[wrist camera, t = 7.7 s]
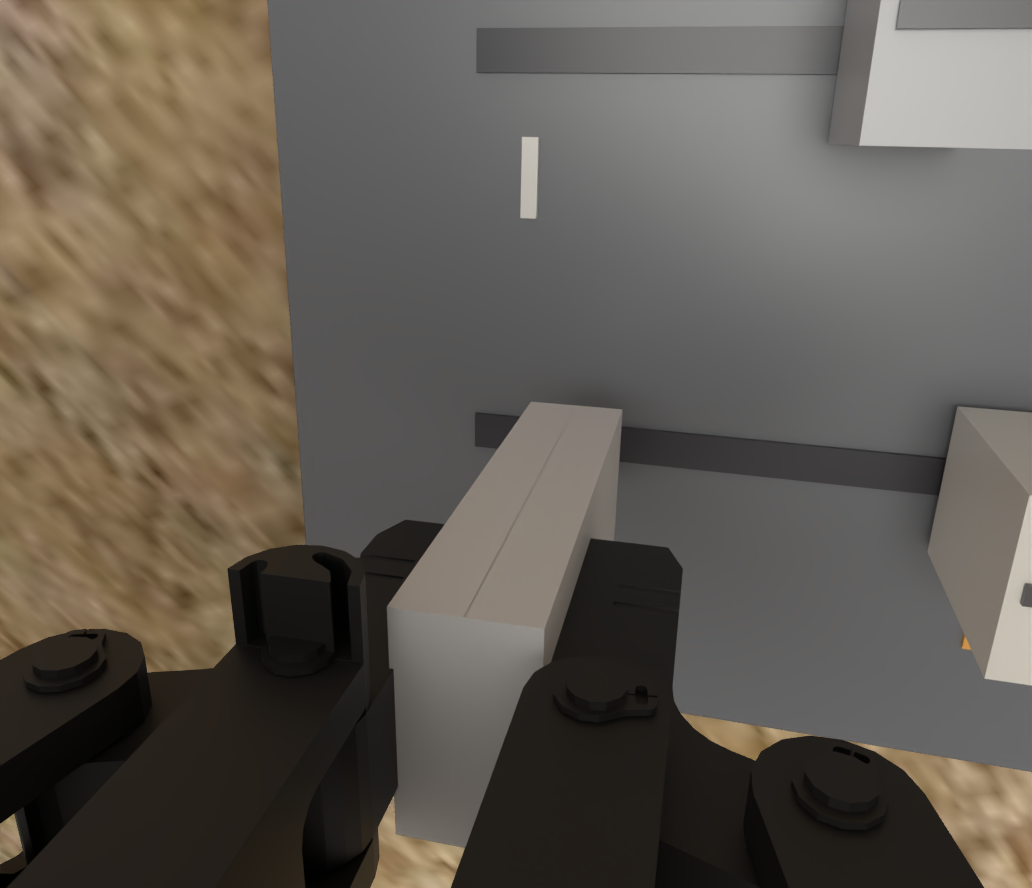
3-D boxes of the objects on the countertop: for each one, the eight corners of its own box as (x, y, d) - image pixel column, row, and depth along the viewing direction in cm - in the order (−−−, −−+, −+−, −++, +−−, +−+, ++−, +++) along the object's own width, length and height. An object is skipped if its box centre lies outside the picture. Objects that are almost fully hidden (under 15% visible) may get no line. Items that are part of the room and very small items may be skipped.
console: (356, 598, 23) (268, 704, 18) (316, -223, 16) (169, -348, 12) (1340, 748, 18) (1527, 938, 13) (1807, -338, 12) (2420, -610, 7)
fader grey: (828, 143, 14) (859, 145, 10) (854, -53, 13) (902, -133, 9) (961, 147, 13) (1048, 149, 10) (999, -58, 12) (1112, -142, 9)
